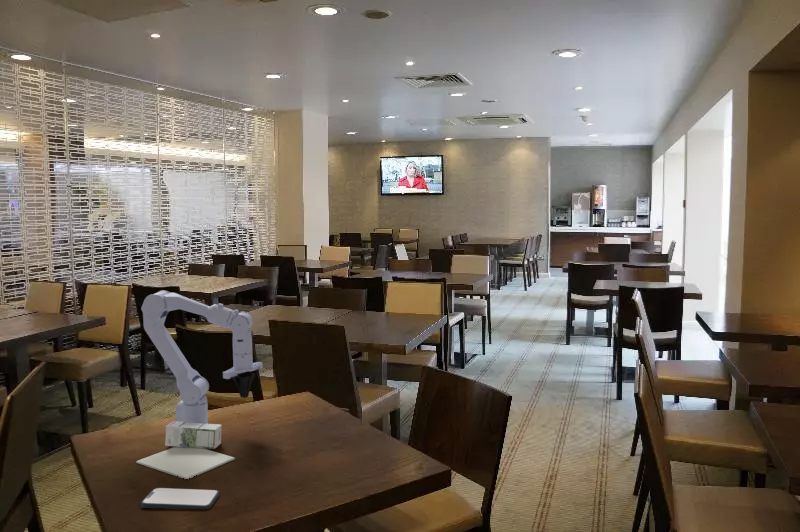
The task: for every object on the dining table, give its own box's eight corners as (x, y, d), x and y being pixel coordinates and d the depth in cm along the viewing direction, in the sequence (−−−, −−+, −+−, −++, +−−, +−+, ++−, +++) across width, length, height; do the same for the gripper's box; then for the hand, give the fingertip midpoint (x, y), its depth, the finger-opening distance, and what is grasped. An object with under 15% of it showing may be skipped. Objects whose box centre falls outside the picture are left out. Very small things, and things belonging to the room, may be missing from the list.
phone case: (221, 496, 159) (154, 493, 160) (221, 489, 159) (154, 486, 159) (209, 513, 150) (139, 510, 151) (209, 506, 150) (139, 503, 151)
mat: (136, 462, 177) (136, 461, 177) (184, 444, 191) (184, 443, 191) (187, 479, 167) (187, 477, 167) (234, 459, 180) (234, 457, 180)
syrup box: (222, 424, 192) (173, 420, 193) (215, 429, 186) (164, 426, 187) (221, 443, 192) (172, 440, 193) (214, 449, 186) (163, 446, 187)
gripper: (234, 359, 193) (236, 405, 194) (269, 349, 205) (270, 392, 206) (217, 356, 197) (219, 401, 198) (252, 347, 209) (254, 389, 210)
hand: (244, 396), depth 202 cm, fingers closed
